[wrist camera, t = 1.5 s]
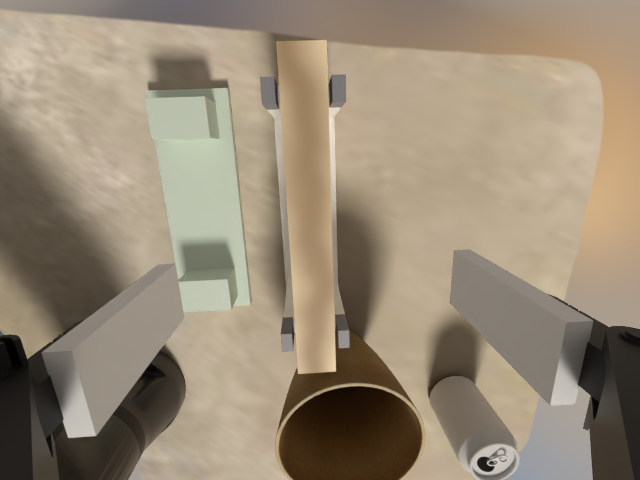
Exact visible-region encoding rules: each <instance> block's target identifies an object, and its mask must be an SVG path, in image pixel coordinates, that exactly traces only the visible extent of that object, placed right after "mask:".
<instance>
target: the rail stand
mask: <svg viewBox="0 0 640 480" xmlns="http://www.w3.org/2000/svg"><path fill="white" fill-rule="evenodd" d="M260 83H261V95H262V104H263V106H264V107H265V108H266V109H267V110H268V112H269V113H270V114H271V115H272V117H273V118H274V127H275V141H276V155H277V169H278V183H279V197H280V210H281V224H282V238H283V252H284V266H285V280H286V298H285V306H284V313H283V321H282V329H281V344H282V352H287V351H293V344H294V333H295V320H294V305H293V290H292V274H291V259H290V244H289V229H288V214H287V199H286V184H285V169H284V154H283V139H282V124H281V108H280V93H279V86H277V83H276V81H275V78H274V77H260ZM345 102H346V75H332V76H331V79H330V82H329V84H328V104H329V140H330V175H331V210H332V246H333V281H334V317H335V331H336V336H337V341H338V347H339V348H350V345H349V327H348V323H347V319H346V316H345V312H344V308H343V304H342V300H341V296H340V292H339V288H338V259H337V218H336V176H335V134H334V116H335V115H336V114H337V112H338V111H339V110H340V108H341V107H342V106H343V105H344V103H345Z"/></svg>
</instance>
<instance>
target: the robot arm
mask: <svg viewBox="0 0 640 480" xmlns="http://www.w3.org/2000/svg"><path fill="white" fill-rule="evenodd" d="M450 304H451V305H452V306H453V307H454V308H455V309H456V310H457V311H458V312H459V313H460V314H461V315H462V316H463V317H464V318H465V319H466V320H467V321H468V322H469V323H470V324H471V325H472V326H473V327H474V328H475V329H476V330H477V331H478V332H479V333H480V334H481V335H482V336H483V337H484V338H485V339H486V340H487V342H488V343H489V344H490V345H491V346H492V347H493V348H494V349H495V350H496V351H497V352H498V353H499V354H500V355H501V356H502V357H503V358H504V359H505V360H506V361H507V362H508V363H509V364H510V365H511V366H512V367H513V368H514V369H515V370H516V371H517V372H518V373H519V374H520V375H521V376H522V377H523V378H524V379H525V380H526V381H527V382H528V383H529V385H530V386H531V387H532V388H533V389H534V390H535V391H536V392H537V393H538V394H539V395H540V396H541V397H542V398H543V399H544V400H545V401H546V402H547V403H548V404H549V405H550V406H551V405H565V404H575V402H576V397H577V393H578V389H579V386H580V387H582V388H583V389H584V390H585V391H586V392H587V393H589V394H590V395H591V397H590V401H589V405H588V410H587V414H586V418H585V422H584V427H583V429H586V430H588V429H589V428H590V441H591V457H592V470H593V480H640V329H636V328H631V327H625V326H612V327H608V326H606V325H604V324H602V323H600V322H599V321H597V320H595V319H594V318H592V317H590V316H588V315H587V314H585V313H583V312H581V311H578V309H576V308H574V307H572V306H571V305H568V304H567V303H565V302H564V301H562V300H560V299H558V298H557V297H554V296H552V295H549V294H546V293H544V292H543V291H541V290H539V289H537V288H536V287H534V286H532V285H530V284H529V283H527V282H525V281H524V280H522V279H520V278H518V277H517V276H515V275H513V274H511V273H510V272H508V271H506V270H504V269H503V268H501V267H499V266H497V265H496V264H494V263H492V262H491V261H489V260H487V259H485V258H484V257H482V256H480V255H478V254H477V253H475V252H473V251H471V250H454V257H453V269H452V281H451V293H450ZM183 318H184V313H183V307H182V301H181V295H180V289H179V283H178V277H177V271H176V265H175V264H161V265H157V266H156V267H155V268H153V269H152V270H151V271H149V272H148V273H147V274H145V275H144V276H143V277H141V278H140V279H139V280H137V281H136V282H135V283H133V284H132V285H131V286H129V287H128V288H127V289H125V290H124V291H123V292H121V293H120V294H119V295H117V296H116V297H115V298H113V299H112V300H111V301H109V302H108V303H107V304H105V305H104V306H103V307H101V308H100V309H99V310H97V311H96V312H95V313H93V314H92V315H91V316H89V317H88V318H87V319H84V320H82V321H80V322H78V323H76V324H74V325H73V326H72V327H70V328H69V329H68V330H66V331H65V332H64V333H63V335H60V336H58V337H57V338H55V339H54V340H53V342H50V343H49V344H47V345H46V346H45V347H43V348H42V349H41V350H39V351H38V352H36V353H35V354H34V355H32V356H31V357H30V358H28V359H27V357H26V354H25V351H24V348H23V345H22V342H21V339H20V338H19V336H17V335H4V334H3V333H2V332H1V331H0V480H128V479H129V477H130V475H131V473H132V472H133V470H134V468H135V466H136V464H137V462H138V460H139V459H140V457H141V455H142V453H143V451H144V450H145V449H146V448H147V447H148V446H149V445H150V444H151V443H152V442H153V441H154V440H155V439H156V437H157V436H158V435H159V434H160V433H162V432H163V431H164V430H165V429H166V428H167V427H168V426H169V425H170V424H171V423H172V422H173V421H174V419H175V418H176V416H177V414H178V412H179V410H180V408H181V406H182V404H183V401H184V398H185V391H186V389H185V381H184V378H183V375H182V373H181V371H180V370H179V368H178V366H177V365H176V364H175V363H174V362H173V361H172V360H171V359H170V358H169V357H168V356H167V355H166V354H164V353H163V352H161V351H160V349H161V348H162V347H163V345H164V344H165V343H166V341H167V340H168V339H169V337H170V336H171V334H172V333H173V332H174V330H175V329H176V328H177V326H178V325H179V324H180V322H181V321H182V320H183Z"/></svg>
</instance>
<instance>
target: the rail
mask: <svg viewBox="0 0 640 480" xmlns="http://www.w3.org/2000/svg"><path fill="white" fill-rule="evenodd" d="M276 48H277V63H278V78H279V93H280V108H281V124H282V139H283V154H284V169H285V184H286V199H287V214H288V229H289V244H290V259H291V274H292V290H293V305H294V320H295V335H296V350H297V365H298V374H306V373H322V372H336V352H335V317H334V281H333V246H332V210H331V175H330V140H329V104H328V69H327V40H305V41H276Z"/></svg>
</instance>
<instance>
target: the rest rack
mask: <svg viewBox="0 0 640 480" xmlns="http://www.w3.org/2000/svg"><path fill="white" fill-rule="evenodd" d="M146 93H147V98H145V103H146V109H147V115H148V121H149V126H150V132H151V138H152V140H155V145H156V151H157V157H158V163H159V169H160V175H161V181H162V187H163V192H164V198H165V204H166V210H167V216H168V222H169V228H170V234H171V239H172V245H173V251H174V257H175V263H176V269H177V275H178V283H179V289H180V295H181V301H182V307H183V312H200V311H218V310H232V307H233V306H241V305H251V302H252V300H251V291H250V281H249V272H248V262H247V253H246V243H245V234H244V224H243V215H242V205H241V196H240V186H239V177H238V167H237V158H236V148H235V139H234V129H233V120H232V110H231V101H230V91H229V89H228V88H209V89H176V90H146Z"/></svg>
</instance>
